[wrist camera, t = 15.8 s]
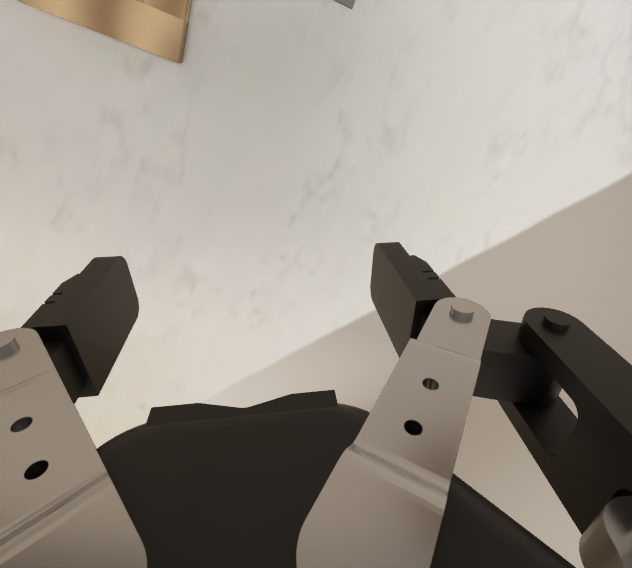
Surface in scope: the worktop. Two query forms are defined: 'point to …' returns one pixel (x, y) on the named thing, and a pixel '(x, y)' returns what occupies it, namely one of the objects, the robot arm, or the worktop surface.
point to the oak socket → (130, 21)
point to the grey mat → (347, 3)
